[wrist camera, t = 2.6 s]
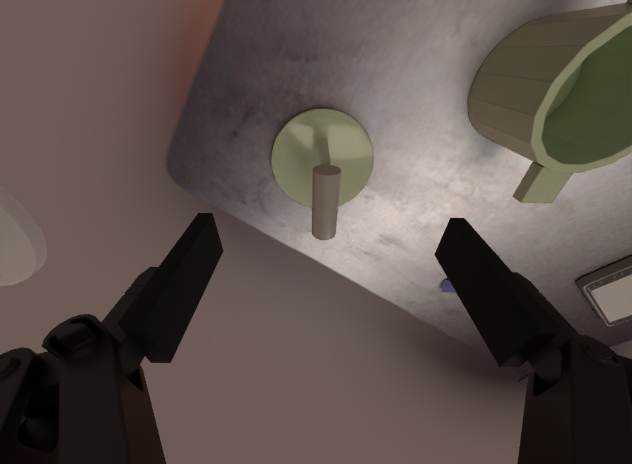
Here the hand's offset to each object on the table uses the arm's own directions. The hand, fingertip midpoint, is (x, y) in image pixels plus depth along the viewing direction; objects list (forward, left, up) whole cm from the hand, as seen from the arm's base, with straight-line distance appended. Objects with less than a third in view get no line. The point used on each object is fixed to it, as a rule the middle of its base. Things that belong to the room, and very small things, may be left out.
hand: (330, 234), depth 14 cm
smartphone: (+44, -18, -12) cm, 49 cm away
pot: (+16, +7, -12) cm, 21 cm away
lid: (0, 0, -11) cm, 11 cm away
